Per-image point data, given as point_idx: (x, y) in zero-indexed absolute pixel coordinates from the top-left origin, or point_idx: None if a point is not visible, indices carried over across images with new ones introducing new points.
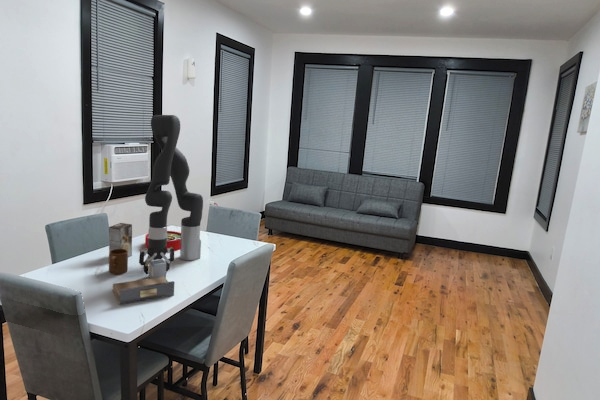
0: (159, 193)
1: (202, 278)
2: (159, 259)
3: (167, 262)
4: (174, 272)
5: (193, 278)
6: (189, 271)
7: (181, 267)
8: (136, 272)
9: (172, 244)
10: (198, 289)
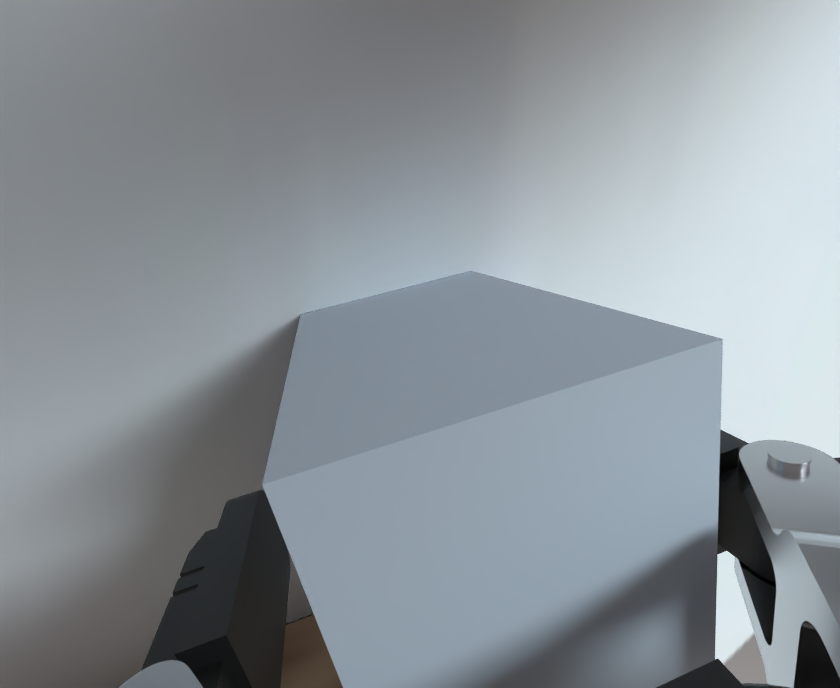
0: None
1: (837, 446)
2: (640, 537)
3: (745, 585)
4: (659, 229)
5: None
6: (817, 228)
7: (794, 34)
8: (50, 91)
9: None
10: (720, 659)
